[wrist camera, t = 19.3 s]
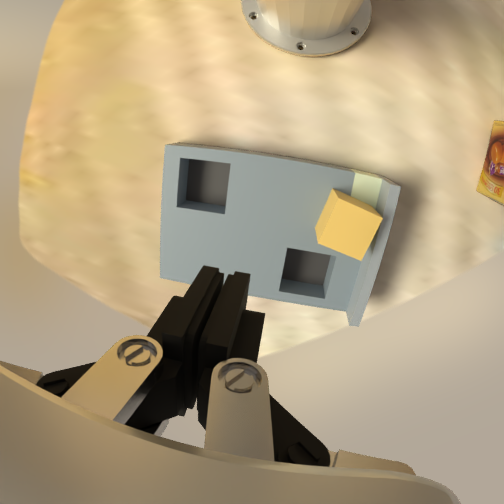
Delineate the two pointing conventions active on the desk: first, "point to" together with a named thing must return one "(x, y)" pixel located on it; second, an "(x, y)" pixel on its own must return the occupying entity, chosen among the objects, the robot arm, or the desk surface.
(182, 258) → the board
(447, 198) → the desk surface
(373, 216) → the block
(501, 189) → the candy box
